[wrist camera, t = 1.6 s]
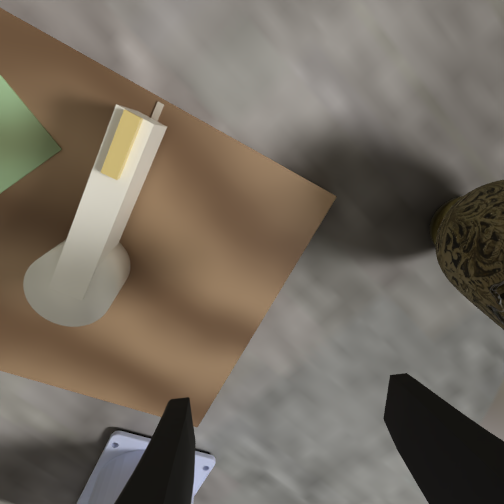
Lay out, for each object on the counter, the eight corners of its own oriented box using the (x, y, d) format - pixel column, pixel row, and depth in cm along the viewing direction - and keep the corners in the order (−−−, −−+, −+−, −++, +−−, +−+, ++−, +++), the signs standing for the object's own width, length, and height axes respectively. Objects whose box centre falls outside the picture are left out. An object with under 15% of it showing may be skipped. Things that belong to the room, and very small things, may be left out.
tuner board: (198, 415, 23) (197, 428, 22) (-130, 317, 18) (-151, 328, 17) (330, 193, 18) (337, 196, 17) (-63, -27, 13) (-87, -41, 12)
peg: (116, 303, 18) (90, 346, 14) (49, 278, 17) (3, 318, 13) (189, 138, 15) (181, 139, 11) (114, 98, 14) (80, 85, 10)
